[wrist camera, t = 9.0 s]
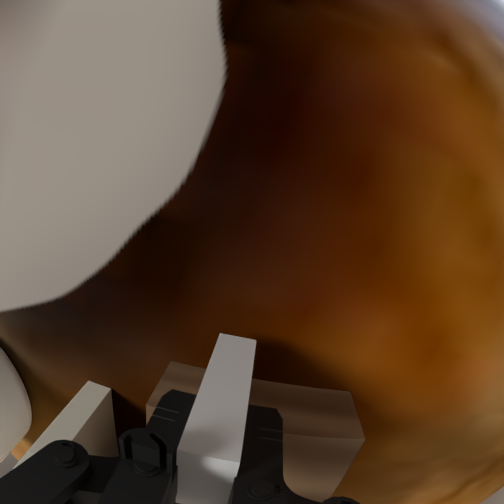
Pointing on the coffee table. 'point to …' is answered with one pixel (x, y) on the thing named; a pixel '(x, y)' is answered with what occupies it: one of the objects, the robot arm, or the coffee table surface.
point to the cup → (12, 407)
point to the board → (293, 427)
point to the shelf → (83, 423)
